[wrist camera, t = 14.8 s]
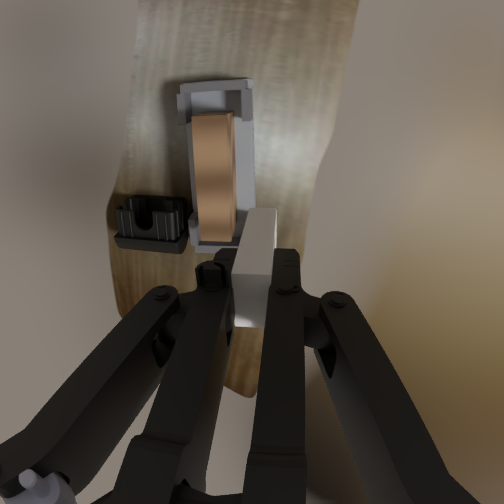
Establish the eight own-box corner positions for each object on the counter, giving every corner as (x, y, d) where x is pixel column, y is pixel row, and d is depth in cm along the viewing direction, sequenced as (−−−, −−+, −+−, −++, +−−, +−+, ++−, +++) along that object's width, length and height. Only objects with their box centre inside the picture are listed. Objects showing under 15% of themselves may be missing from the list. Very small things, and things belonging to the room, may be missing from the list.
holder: (185, 83, 38) (175, 83, 34) (252, 78, 37) (249, 78, 33) (198, 240, 50) (192, 253, 46) (256, 242, 49) (253, 255, 45)
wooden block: (204, 111, 39) (191, 116, 33) (234, 110, 38) (226, 115, 33) (210, 221, 47) (200, 240, 41) (237, 222, 46) (230, 241, 41)
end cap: (134, 234, 50) (116, 255, 44) (129, 194, 47) (109, 211, 41) (191, 239, 50) (178, 262, 44) (189, 197, 46) (175, 215, 40)
